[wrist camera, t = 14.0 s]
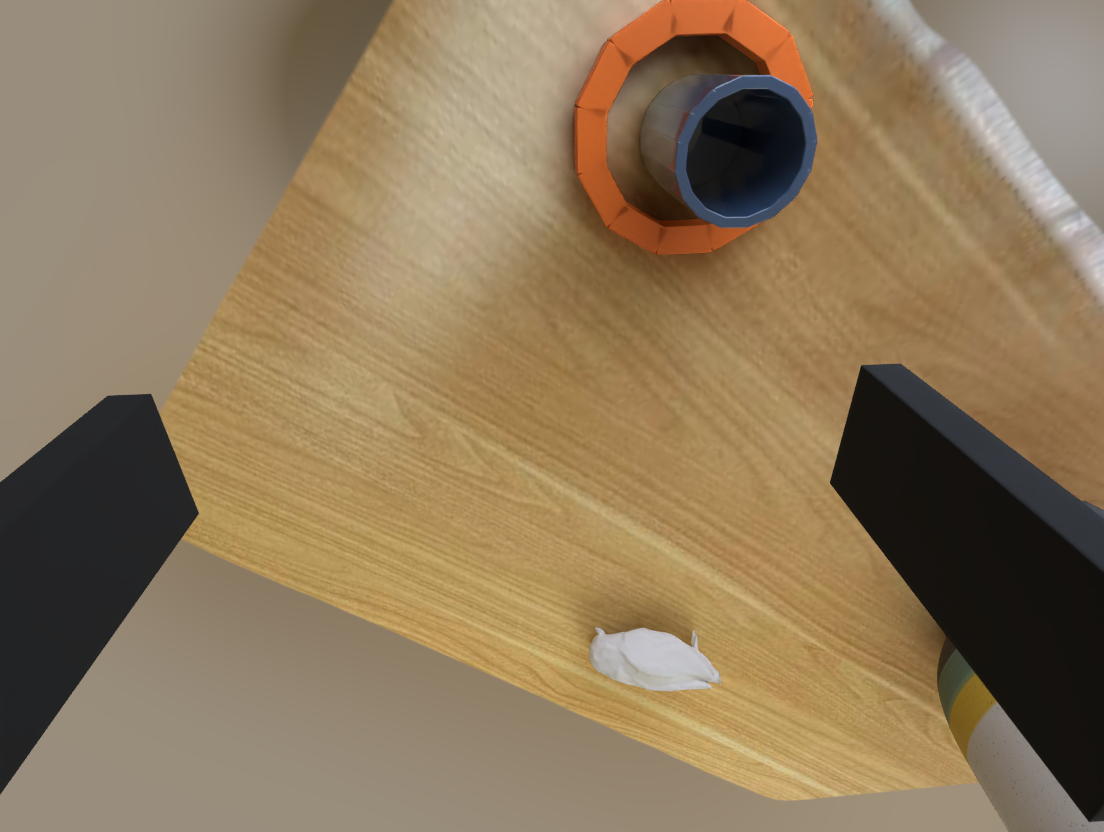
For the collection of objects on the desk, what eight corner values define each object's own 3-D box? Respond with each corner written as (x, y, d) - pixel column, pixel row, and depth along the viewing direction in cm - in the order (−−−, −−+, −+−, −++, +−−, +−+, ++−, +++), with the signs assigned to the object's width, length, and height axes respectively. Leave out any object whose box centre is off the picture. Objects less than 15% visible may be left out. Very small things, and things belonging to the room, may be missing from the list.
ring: (572, 2, 30) (575, -1, 29) (817, -6, 30) (831, -10, 29) (575, 251, 36) (577, 258, 35) (779, 242, 36) (789, 249, 35)
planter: (928, 710, 61) (1104, 987, 43) (863, 601, 53) (1048, 888, 34) (1132, 631, 56) (1431, 905, 38) (1097, 497, 48) (1460, 765, 29)
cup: (643, 73, 32) (683, 75, 24) (755, 73, 32) (831, 74, 24) (636, 193, 35) (669, 229, 27) (738, 192, 35) (800, 227, 27)
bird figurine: (690, 597, 53) (584, 625, 51) (729, 669, 48) (613, 704, 46) (681, 627, 57) (581, 655, 54) (716, 697, 52) (608, 730, 49)
